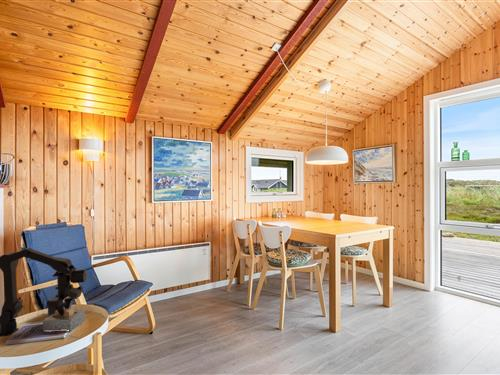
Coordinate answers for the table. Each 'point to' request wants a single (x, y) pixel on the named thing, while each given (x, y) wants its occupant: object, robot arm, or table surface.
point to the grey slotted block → (64, 321)
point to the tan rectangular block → (65, 313)
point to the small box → (52, 309)
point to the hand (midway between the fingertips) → (64, 313)
